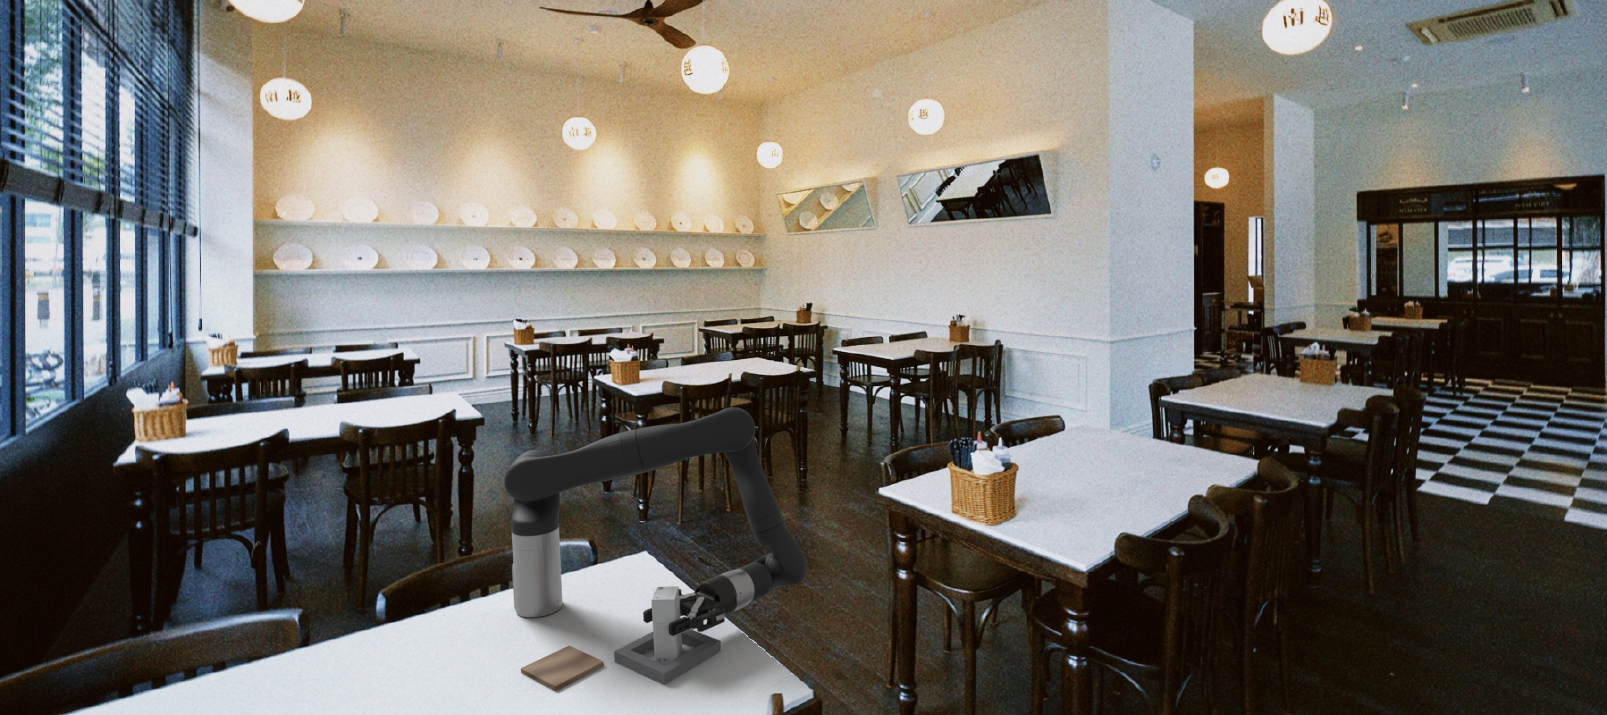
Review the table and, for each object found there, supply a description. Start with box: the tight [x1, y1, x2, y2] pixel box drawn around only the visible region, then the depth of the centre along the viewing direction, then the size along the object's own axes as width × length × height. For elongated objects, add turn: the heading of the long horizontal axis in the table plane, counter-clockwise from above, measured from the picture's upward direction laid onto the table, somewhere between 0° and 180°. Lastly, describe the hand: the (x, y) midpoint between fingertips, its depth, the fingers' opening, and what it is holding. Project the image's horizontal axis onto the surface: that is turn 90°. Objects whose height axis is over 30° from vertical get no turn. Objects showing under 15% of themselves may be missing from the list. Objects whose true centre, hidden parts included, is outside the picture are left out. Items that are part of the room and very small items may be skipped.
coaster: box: [520, 645, 605, 692], centre depth 131 cm, size 10×10×1 cm
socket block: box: [613, 629, 722, 686], centre depth 135 cm, size 13×14×2 cm
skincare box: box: [651, 585, 683, 665], centre depth 134 cm, size 6×4×12 cm
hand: (657, 623), depth 132 cm, fingers closed on skincare box, 7 cm apart
